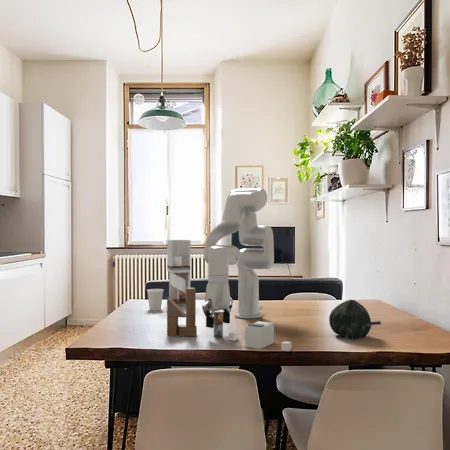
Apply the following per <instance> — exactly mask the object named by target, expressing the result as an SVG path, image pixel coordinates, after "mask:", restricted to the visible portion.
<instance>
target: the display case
mask: <svg viewBox="0 0 450 450" xmlns="http://www.w3.org/2000/svg"><path fill="white" fill-rule="evenodd" d="M191 242H192V241H191V240H190V239H167V244H166V245H167V246H166V247H167V248H166V249H167V251H166V253H167V254H166V255H167V256H166V257H167V259H166V266H167V267H166V271H167V272H168V274H169V275H168V276H169V277H168V286H169V287H168V288H169V290H168V293H169V294H168V295H169V297H170V298H171V299H172V300H173V301H174V302H175V303H176V304H177V305H178V306H179V305H186V288H191V269H192V268H191V265H192V264H191V258H192V257H191V252H192V251H191V250H192V245H191V244H192V243H191ZM169 297H168V298H169ZM179 307H180V306H179Z"/></svg>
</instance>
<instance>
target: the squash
mask: <svg viewBox="0 0 450 450" xmlns="http://www.w3.org/2000/svg"><path fill="white" fill-rule="evenodd" d="M370 316H371V315H370V314H369V312H368V310H367V309H366V308H365V306H364V305H363V304H361V303H360V302H359V301H357V300H355V299H348V300H346V301H344V302H342V303H340V304H337V306H336V307H334V308H333V309H332V310H331V312H330V314H329V317H328V323H329V327H330V329H331V330H332V331H333V332H334V333H335V334H337V335H338V336H343V337H346V338H347V339H350V340H352V339H355V340H359V339H360V338H365V337H366V336H367V335H368V334H369V333H370V331H371V328H372V325H371V322H372V319H371V317H370Z"/></svg>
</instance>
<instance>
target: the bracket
mask: <svg viewBox="0 0 450 450" xmlns="http://www.w3.org/2000/svg"><path fill="white" fill-rule="evenodd" d="M373 325H374V326H375V325H382V321H381V320H378V321H371V326H373Z"/></svg>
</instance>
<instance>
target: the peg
mask: <svg viewBox="0 0 450 450" xmlns="http://www.w3.org/2000/svg"><path fill="white" fill-rule="evenodd" d="M223 312H224V311H215V312H214V314H213V317H214V328H213V337H214V338H215V337H216V338H217V339H218V338H219V339H220V338H221V337H222V338H223V337H224V323H223Z"/></svg>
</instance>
